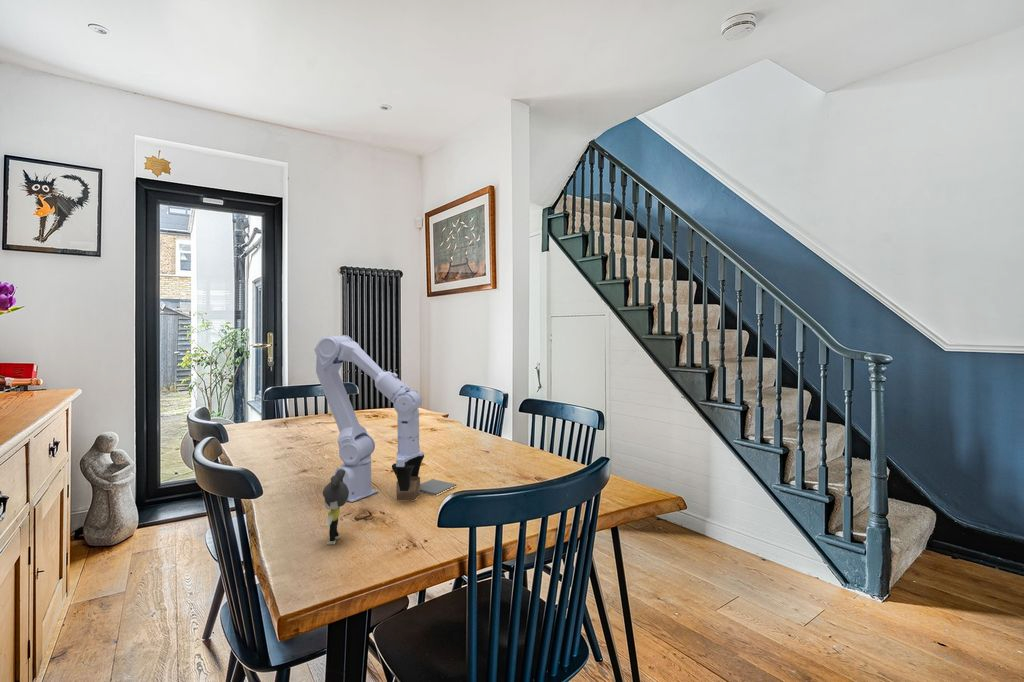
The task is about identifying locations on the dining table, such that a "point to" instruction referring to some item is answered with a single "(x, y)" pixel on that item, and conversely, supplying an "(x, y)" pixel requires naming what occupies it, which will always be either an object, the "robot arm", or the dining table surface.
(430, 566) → the dining table surface
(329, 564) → the dining table surface
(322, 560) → the dining table surface
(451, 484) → the slate coaster
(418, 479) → the walnut block
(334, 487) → the toy
